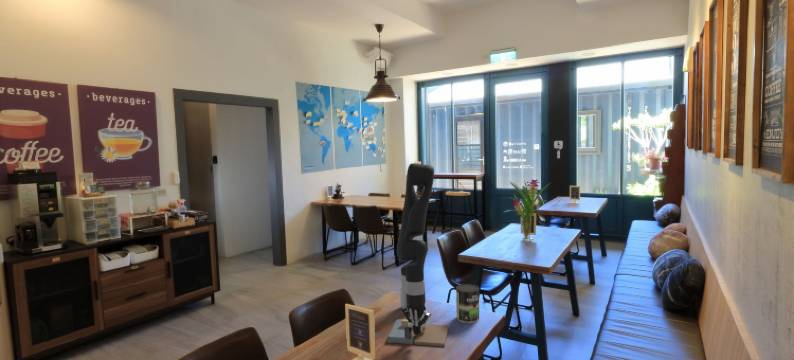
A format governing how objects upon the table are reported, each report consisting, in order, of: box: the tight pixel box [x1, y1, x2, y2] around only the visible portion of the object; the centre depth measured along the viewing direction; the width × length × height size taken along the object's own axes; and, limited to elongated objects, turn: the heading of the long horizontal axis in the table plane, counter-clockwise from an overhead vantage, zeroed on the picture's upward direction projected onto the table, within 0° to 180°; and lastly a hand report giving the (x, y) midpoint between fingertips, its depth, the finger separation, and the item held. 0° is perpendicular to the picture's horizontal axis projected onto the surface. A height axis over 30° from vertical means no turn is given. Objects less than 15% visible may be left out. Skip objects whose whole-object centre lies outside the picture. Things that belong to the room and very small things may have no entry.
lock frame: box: [387, 318, 449, 348], centre depth 173 cm, size 16×22×5 cm
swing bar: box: [404, 317, 427, 339], centre depth 169 cm, size 12×3×4 cm, turn 141°
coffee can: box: [455, 283, 480, 324], centre depth 187 cm, size 10×10×14 cm
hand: (417, 334), depth 164 cm, fingers closed
